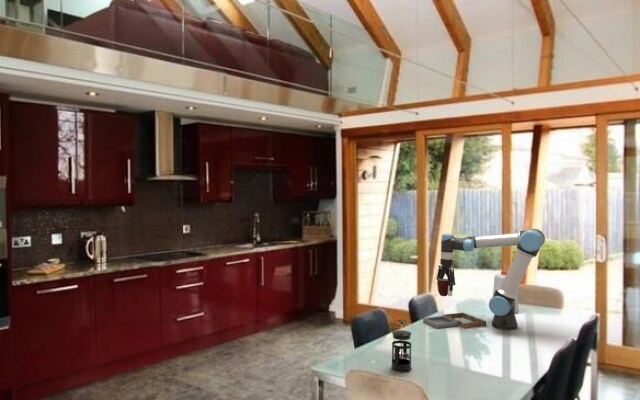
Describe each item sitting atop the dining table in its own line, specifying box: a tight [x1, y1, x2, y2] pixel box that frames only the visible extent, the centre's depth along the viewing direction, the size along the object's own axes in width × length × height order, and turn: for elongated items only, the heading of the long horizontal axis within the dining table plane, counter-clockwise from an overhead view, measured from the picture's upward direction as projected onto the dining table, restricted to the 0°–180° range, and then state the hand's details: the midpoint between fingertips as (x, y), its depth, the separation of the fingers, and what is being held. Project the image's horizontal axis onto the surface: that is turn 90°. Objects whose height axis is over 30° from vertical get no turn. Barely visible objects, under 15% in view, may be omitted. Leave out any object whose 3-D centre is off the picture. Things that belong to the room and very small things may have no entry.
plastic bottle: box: [492, 270, 520, 315], centre depth 346 cm, size 15×15×28 cm
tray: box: [422, 315, 459, 330], centre depth 311 cm, size 15×15×3 cm
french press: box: [390, 318, 413, 373], centre depth 235 cm, size 12×9×23 cm
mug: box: [436, 278, 449, 297], centre depth 313 cm, size 11×8×10 cm
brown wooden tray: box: [441, 312, 487, 330], centre depth 317 cm, size 23×16×3 cm
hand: (445, 293), depth 313 cm, fingers closed on mug, 10 cm apart
